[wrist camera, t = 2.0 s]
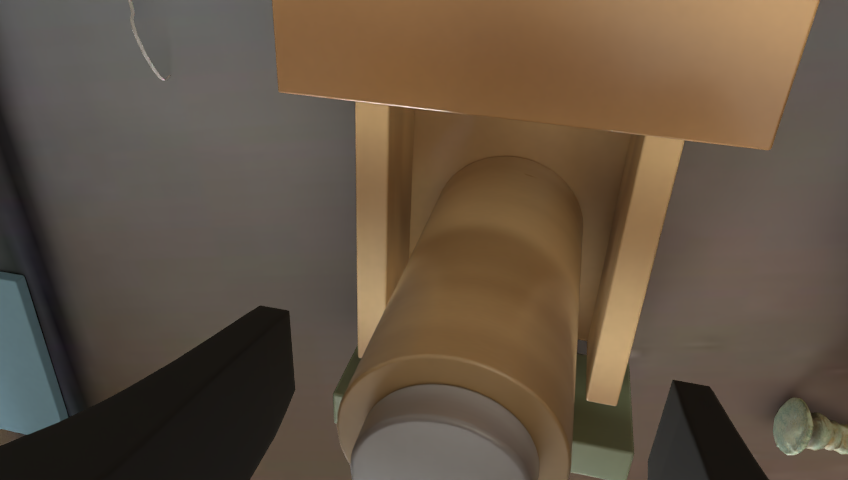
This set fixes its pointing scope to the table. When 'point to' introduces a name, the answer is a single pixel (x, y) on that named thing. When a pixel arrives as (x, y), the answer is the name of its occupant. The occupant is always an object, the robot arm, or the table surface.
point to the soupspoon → (807, 430)
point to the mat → (25, 364)
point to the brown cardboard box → (557, 61)
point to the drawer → (601, 244)
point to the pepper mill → (476, 338)
